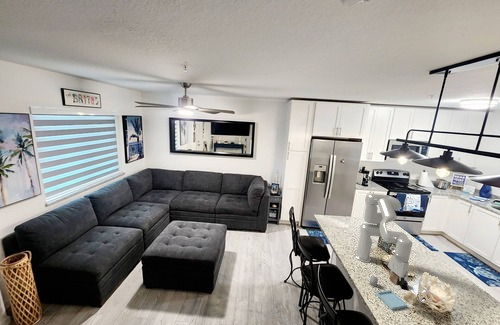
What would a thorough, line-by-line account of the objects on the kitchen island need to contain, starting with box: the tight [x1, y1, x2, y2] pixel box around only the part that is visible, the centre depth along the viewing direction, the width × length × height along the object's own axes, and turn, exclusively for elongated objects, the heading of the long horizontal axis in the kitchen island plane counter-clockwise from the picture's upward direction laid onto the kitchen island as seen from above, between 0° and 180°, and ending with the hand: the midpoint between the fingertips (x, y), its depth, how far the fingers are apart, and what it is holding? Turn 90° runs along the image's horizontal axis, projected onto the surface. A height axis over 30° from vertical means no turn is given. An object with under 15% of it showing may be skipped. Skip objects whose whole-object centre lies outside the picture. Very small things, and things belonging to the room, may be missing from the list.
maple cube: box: [403, 290, 418, 306], centre depth 137 cm, size 5×5×5 cm
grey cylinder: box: [369, 275, 379, 288], centre depth 149 cm, size 4×4×5 cm
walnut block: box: [389, 272, 399, 286], centre depth 133 cm, size 4×4×6 cm
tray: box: [375, 289, 408, 311], centre depth 136 cm, size 12×12×2 cm
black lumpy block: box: [399, 281, 411, 292], centre depth 150 cm, size 12×7×5 cm, turn 160°
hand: (395, 281), depth 133 cm, fingers closed on walnut block, 4 cm apart
